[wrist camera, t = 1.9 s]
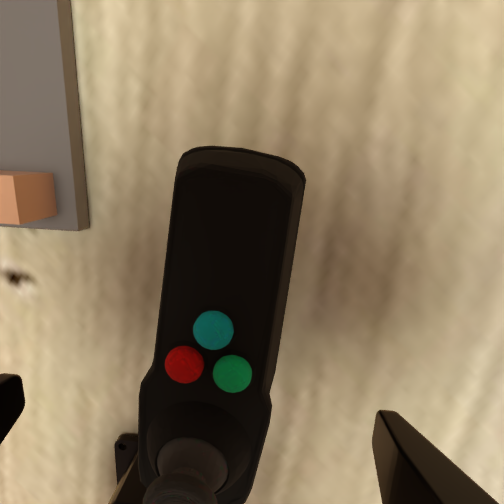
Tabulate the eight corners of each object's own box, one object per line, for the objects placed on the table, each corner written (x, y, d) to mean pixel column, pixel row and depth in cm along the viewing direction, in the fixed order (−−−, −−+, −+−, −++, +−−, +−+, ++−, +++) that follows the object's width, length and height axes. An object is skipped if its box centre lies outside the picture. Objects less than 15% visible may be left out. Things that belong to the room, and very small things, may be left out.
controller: (188, 368, 20) (96, 570, 10) (215, 144, 16) (115, 126, 7) (263, 383, 20) (242, 602, 10) (306, 158, 16) (337, 162, 7)
